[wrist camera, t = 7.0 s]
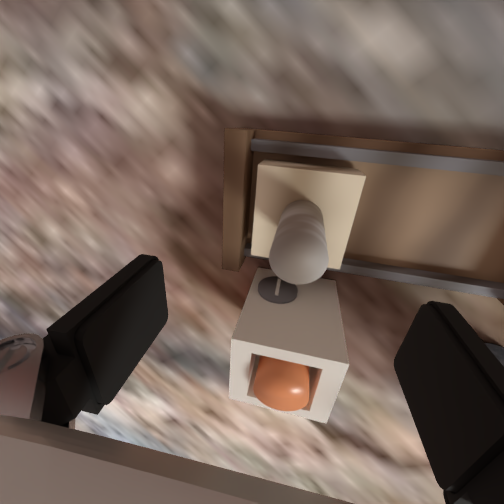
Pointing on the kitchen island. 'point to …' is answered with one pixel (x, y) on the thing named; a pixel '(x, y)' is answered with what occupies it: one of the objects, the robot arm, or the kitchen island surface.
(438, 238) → the rail bed
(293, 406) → the brown egg
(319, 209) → the square knob plate
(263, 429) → the kitchen island surface
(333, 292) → the white knob block
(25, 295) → the kitchen island surface
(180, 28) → the kitchen island surface
